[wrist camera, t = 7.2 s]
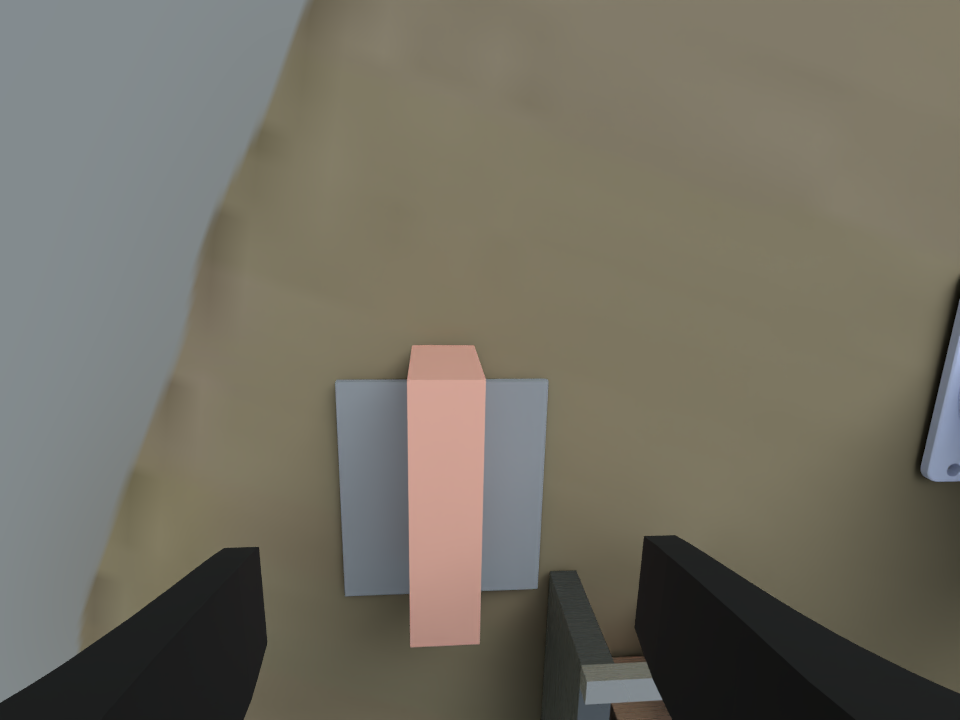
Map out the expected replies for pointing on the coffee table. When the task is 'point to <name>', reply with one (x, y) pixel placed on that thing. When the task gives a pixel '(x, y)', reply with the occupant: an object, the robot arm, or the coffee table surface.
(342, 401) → the pad
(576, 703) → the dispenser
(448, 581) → the salmon pink brick
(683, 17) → the coffee table surface
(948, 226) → the coffee table surface
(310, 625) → the coffee table surface
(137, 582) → the coffee table surface
